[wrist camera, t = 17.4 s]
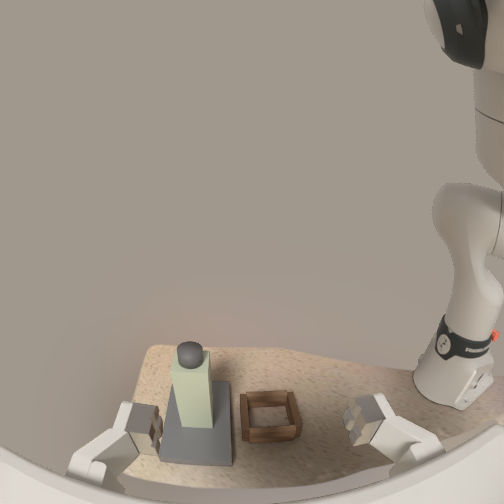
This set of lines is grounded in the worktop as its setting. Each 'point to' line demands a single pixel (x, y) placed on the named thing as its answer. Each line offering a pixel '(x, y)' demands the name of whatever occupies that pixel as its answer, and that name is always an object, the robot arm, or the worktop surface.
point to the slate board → (199, 433)
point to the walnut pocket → (269, 401)
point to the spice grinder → (193, 385)
